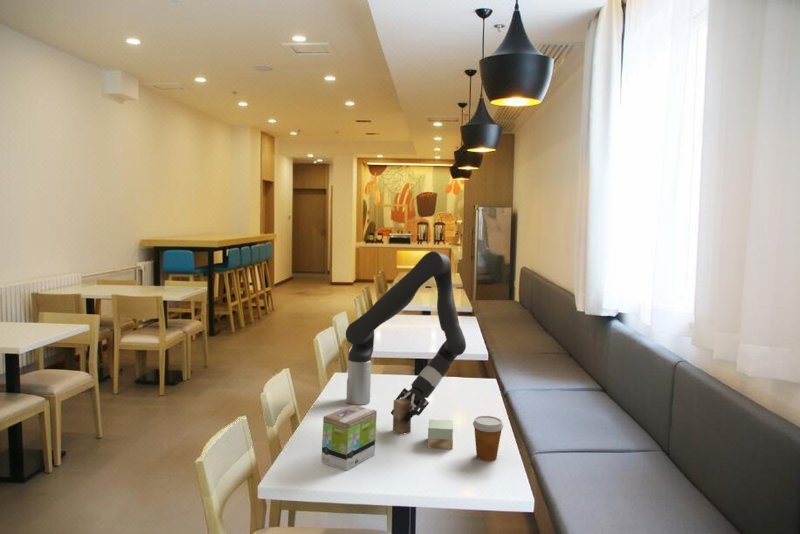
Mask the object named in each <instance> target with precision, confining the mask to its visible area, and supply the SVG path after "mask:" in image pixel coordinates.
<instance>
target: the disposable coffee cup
mask: <svg viewBox="0 0 800 534" xmlns="http://www.w3.org/2000/svg"><path fill="white" fill-rule="evenodd" d="M472 425H473V428H474V438H475V453H476V458H477V459H478V460H481V461H485V462H493V461H496V460H497V457H498V452H499V447H500V440H501V435H502V431H503V428H504V424H503V421H502V419H501V418H499V417H497V416H492V415H491V416H490V415H480V416H476V417H475V418H474V421H473V422H472ZM495 459H496V460H495ZM492 460H493V461H492Z"/></svg>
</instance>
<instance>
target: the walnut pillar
mask: <svg viewBox="0 0 800 534" xmlns="http://www.w3.org/2000/svg"><path fill="white" fill-rule="evenodd" d="M410 403H411V401H409V400H407V399H405V398H403V399H401V398H400V399H397V400H395V399H394V400H393V409H392V410H393V415H392V431H393V432H394V431H395V432H394V433H396V434H397V433H398V434H397V435H399V434H401V435H405V434H404V433H406V434H409V432H410V433H411V432H412V431H411V427H412V423H411V422H412V418H411V419H410V421H409V422H408V423H404V422H403V421H402V419H403V417H404V416H405V415H406V414H407V412H408V411H409V410H410ZM409 412H410V411H409Z"/></svg>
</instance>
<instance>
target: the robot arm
mask: <svg viewBox="0 0 800 534" xmlns="http://www.w3.org/2000/svg"><path fill="white" fill-rule="evenodd" d="M431 278H434V281H435V284H436V291H437V302H436V311H437V317H438V321H439V326H440V329H441V331H443V332H444V336H445V339H446V340H445V341H444V342H443V343H442V345H441V346H440V347H439V349H438V351H437V352H436V354H435V356H434V357H433V358H432V359H431V360H430V361H429V362H428V364H427V365H426V366H425V367H424V368H423V369H422V370H421V372H420V373H418V375H417V376H416V378H415V379H414V381H412V383H411V384H410V385H411V386H410V387H411V388H410V389H409V390H407V388H405V387H404V388H403V389H402V390H401V391H400V393H399V394H398V395H397V396H396V398H395V399H394V400H397V399H403V398H405V399H407V400H409V401H411V403H410V410H409V411H410V412H409V411H408V412H407V414H406V415H405V416H404V417H403V419H402V421H403V422H404V423H408V422H409V421H410V419H411V420H412V418H413V417H414V416H421V414H422V412H424V410H425V409H426V407H427V406H428V405H429V404H430V402H429V401H428V400H427V399H429V397H430V396H431V395H432V393H433V392H434V391H435V389H436V388H437V387H438V386H439V384H440V383H441V381H442V379H443V378H444V377H445V375H446V374H447V373H448V372H449V370H450V367H451V365H452V363H453V362H454V360H455V359H456V358H457V357H458V356H461V355H462V354H464V352H465V351H466V348H467V343H466V338H465V335H464V332H463V330H462V327H461V325H460V321H459V317H458V313H457V307H456V304H455V296H454V290H453V288H454V286H453V277H452V263H451V260H450V258H449V256H448V255H446V254H445V253H442V252H439V251H430V252H427V253H425V254H424V255H423V257H421V258H420V259H419V261H418V262H417V263H416V264H414V266H413V268H412V269H410V271H409V272H408V273H407V274H405V275H404V276H403V277H402V278H400V279H399V280H398V281H396V283H395V284H394V285H392V287H391V288H389V289H388V290H386V292H385V293H383V295H382V296H380V298H379V299H378V300H377V301H376V302H375V303H374V304H373V305H372V306H371V307H370V308H369V309H368V310H367V311H366V312H365V313H363V314H362V315H361V316H359V317H358V318H357V319H356V320H354V321H352V322H351V323H349V325H348V326H347V328H346V329H345V338H346V340H347V342H348V343H350V344H351V348H350V350H349V351H348V357H347V359H348V360H347V362H348V363H347V378H346V379H347V380H346V403H347V404H350V405H356V406H359V405H366V404H369V403H370V402H371V385H372V384H371V383H372V381H371V378H372V355H373V352H374V345H375V344H374V343H375V330H376V329H377V328H379V327H380V326H381V325H382V324H384V323H386V321H389V320H391V319H392V318H393V317H395V316H396V315H397V314H399V313H401V311H402V310H404V309H405V308H406V307H407V306H408V305H409V304H410V303H411V302H412V301H413V299H414V298H415V295H416V294H417V293H418V290H419V289H420V288H421V287H422V286H423V285H424V284H425V283H426V282H428V281H429V280H430V279H431ZM390 414H391V416H393V409H392V410H391V411H390Z"/></svg>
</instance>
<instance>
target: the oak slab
mask: <svg viewBox="0 0 800 534" xmlns="http://www.w3.org/2000/svg"><path fill="white" fill-rule="evenodd" d="M427 439H428V441H427V447H430V448H429V449H442V448H449V449H448V450H453V447H454V446H453V444H454V436H453V437H452V440H448V439H433V438H428V437H427Z"/></svg>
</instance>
